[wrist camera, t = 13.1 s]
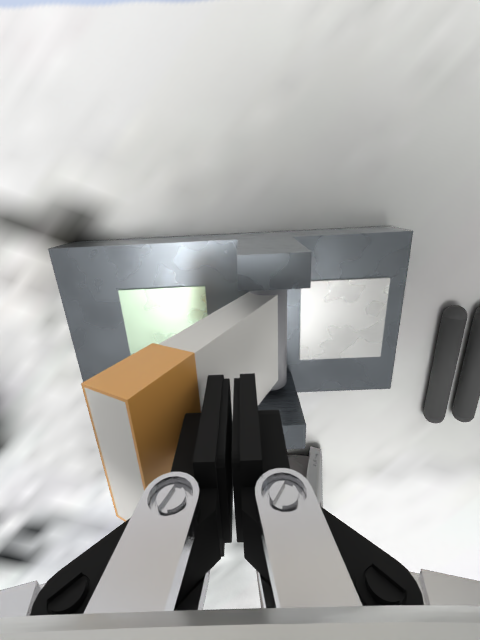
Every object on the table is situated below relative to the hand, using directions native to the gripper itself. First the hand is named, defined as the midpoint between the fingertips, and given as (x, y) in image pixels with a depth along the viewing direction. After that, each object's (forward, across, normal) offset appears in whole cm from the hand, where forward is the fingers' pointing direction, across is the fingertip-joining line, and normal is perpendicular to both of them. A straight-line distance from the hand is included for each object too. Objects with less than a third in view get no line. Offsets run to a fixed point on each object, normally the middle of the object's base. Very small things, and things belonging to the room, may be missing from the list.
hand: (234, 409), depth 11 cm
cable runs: (+11, -16, +5) cm, 20 cm away
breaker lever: (+7, -2, 0) cm, 7 cm away
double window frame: (+11, 0, 0) cm, 11 cm away
